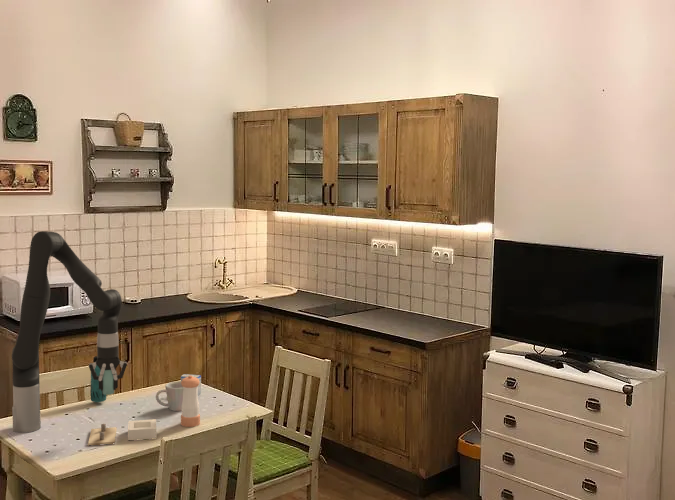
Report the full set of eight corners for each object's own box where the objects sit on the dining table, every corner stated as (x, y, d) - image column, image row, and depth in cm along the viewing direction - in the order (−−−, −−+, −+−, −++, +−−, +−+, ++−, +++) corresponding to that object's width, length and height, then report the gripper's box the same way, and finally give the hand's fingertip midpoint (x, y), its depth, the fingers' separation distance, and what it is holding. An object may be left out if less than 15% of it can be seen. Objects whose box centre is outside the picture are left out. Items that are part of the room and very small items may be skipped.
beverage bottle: (87, 403, 311) (86, 356, 309) (102, 399, 316) (101, 353, 314) (95, 406, 307) (94, 359, 304) (110, 403, 311) (109, 356, 309)
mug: (195, 409, 306) (195, 385, 305) (160, 415, 297) (160, 391, 296) (185, 402, 314) (185, 379, 313) (151, 408, 306) (150, 384, 305)
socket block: (127, 440, 270) (127, 430, 270) (128, 431, 280) (128, 420, 279) (156, 438, 272) (156, 428, 272) (156, 429, 282) (156, 419, 282)
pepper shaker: (199, 426, 286) (199, 378, 284) (180, 427, 285) (180, 378, 283) (200, 420, 293) (200, 372, 291) (181, 420, 292) (181, 373, 290)
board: (88, 446, 264) (88, 436, 264) (91, 431, 279) (91, 422, 278) (114, 444, 267) (114, 434, 266) (116, 429, 281) (116, 420, 281)
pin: (102, 394, 272) (102, 370, 271) (102, 391, 276) (102, 368, 275) (113, 394, 273) (113, 370, 272) (114, 391, 277) (114, 367, 276)
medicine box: (180, 395, 324) (180, 376, 323) (184, 392, 328) (183, 373, 327) (197, 397, 322) (197, 377, 321) (201, 393, 327) (201, 374, 326)
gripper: (128, 341, 278) (128, 386, 280) (88, 342, 274) (88, 388, 276) (128, 346, 271) (128, 391, 273) (86, 347, 267) (87, 394, 269)
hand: (108, 389), depth 274 cm, fingers closed on pin, 4 cm apart
